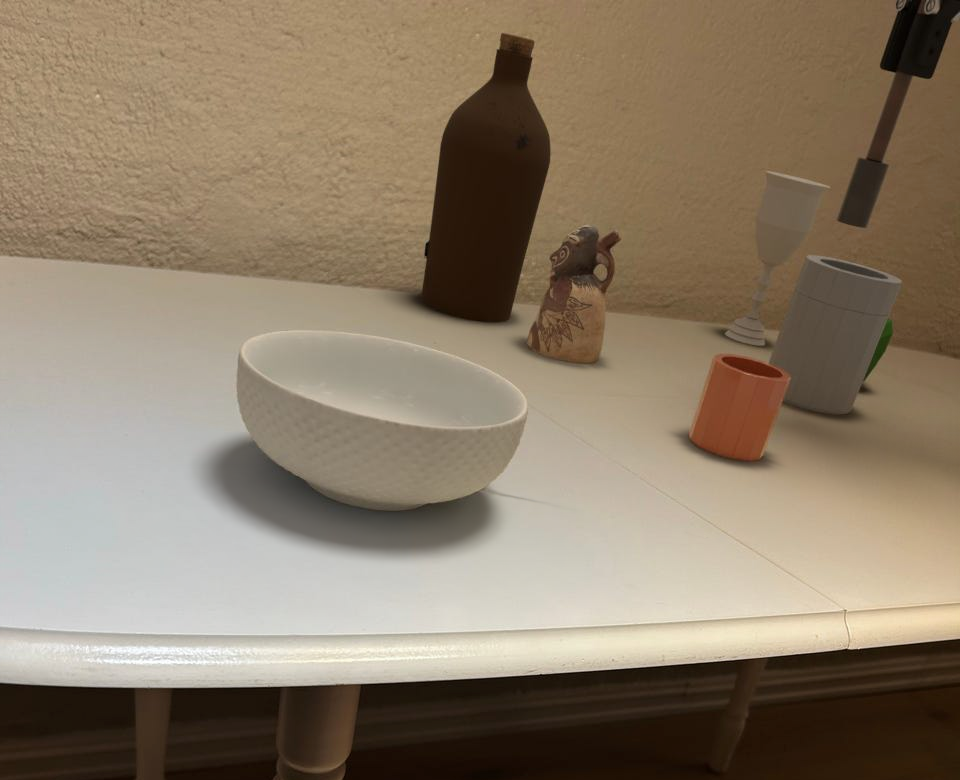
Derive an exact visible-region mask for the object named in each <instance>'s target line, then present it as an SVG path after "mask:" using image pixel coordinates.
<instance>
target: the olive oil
mask: <svg viewBox="0 0 960 780" xmlns="http://www.w3.org/2000/svg"><path fill="white" fill-rule="evenodd" d="M499 42H500V43H499V49H496V53H495V59H494V63H493V64H494V65H493V72H492V76H491V77H490V78H489V80H488V81H487V82H486V83H485V84H484V85H482V86H481V87H480V88H479V89H478V90H476V91H475V92H474V93H472V94H471V95H470V96H469V97H468V98H467V99H465V101H463V102H462V103H461V104H460V105H459V106H457V107H456V109H454V111H453V112H452V113H451V115H450V117H449V119H448V120H447V123H446V125H445V127H444V131H443V133H442V136H441V141H440V146H439V155H438V164H437V173H436V181H435V187H434V188H435V189H434V195H433V196H434V198H433V204H432V205H433V206H432V211H431V212H432V213H431V219H430V220H431V222H430V227H429V228H430V229H429V238H428V239H429V240H428V241H426V242H425V246H424V257H423V258H424V259H426V260H425V267H424V273H423V274H424V275H423V281H422V288H421V296H420V300H421V302H422V303H423V305H425V306H426V307H428V308H430V309H432V310H434V311H437V312H439V313H443V314H444V315H449V316H452V317H454V318H455V317H456V318H460V319H463V320H468V321H475V322H482V323H483V322H484V323H504V322H508V321H509V320H510V318H511V314H512V312H513V308H514V303H515V299H516V294H517V291H518V286H519V284H520V283H519V282H520V278H521V274H522V271H523V267H524V262H525V259H526V255H527V251H528V247H529V244H530V239H531V235H532V232H533V228H534V224H535V220H536V217H537V213H538V209H539V205H540V202H541V199H542V194H543V190H544V187H545V183H546V181H547V177H548V174H549V173H548V172H549V169H550V164H551V154H552V153H551V150H552V149H551V138H550V133H549V130H548V128H547V125H546V122H545V121H544V119H543V116H542V115H541V113H540V111H539V109H538V106H537V105H536V103H535V101H534V99H533V96H532V94H531V92H530V90H529V86H528V80H529V77H530V72H531V68H532V63H533V60H534V58H533V57H532V52H533V49H534V48H535V43H536V42H535V40H534V39H532V38H527V37H523V36H518V35H515V34H511V33H506V32H502V33H500V37H499Z"/></svg>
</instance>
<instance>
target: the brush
mask: <svg viewBox="0 0 960 780" xmlns="http://www.w3.org/2000/svg"><path fill="white" fill-rule="evenodd" d="M926 1H927V0H921V1H920V4H919V6H918V9H917V12H916V14H917V13H922V14H925V12H924V7H925V3H926ZM915 17H916V15H915ZM910 30H911V29H910ZM902 53H903V52H902ZM913 78H914V76H912V75H908V74H904V73H900V72H899V71H898V67H897V70H896V72H895V73H894V76H893V78H892V81H891V84H890V87H889V90H888V93H887V95H886V98H885V101H884V104H883V106H882V110H881V113H880V116H879V118H878V122H877V124H876V126H875V129H874V133H873V136H872V139H871V142H870V144H869V147H868V150H867V153H866V157H861V156H859V157H857V160H856V162H855V165H854V168H853V171H852V174H851V177H850V180H849V183H848V185H847V188H846V190H845V194H844V197H843V200H842V203H841V204H840V205H841V206H840V209H839V211H838V213H837V214H838V215H837V216H836V217H837V218H836V221H837V222H839V223H840V224H841V223H842V224H844V225H848V226H853V227H857V228H862V229H866V228H868V225H869V224H870V220H871V218H872V215H873V212H874V209H875V206H876V203H877V200H878V198H879V196H880V192H881V189H882V187H883V184H884V181H885V179H886V176H887V173H888V170H889V168H890V163H887V162H884V159H885V156H886V153H887V152H888V148H889V146H890V143H891V140H892V137H893V134H894V131H895V129H896V126H897V123H898V120H899V117H900V115H901V111H902V109H903V106H904V103H905V101H906V98H907V95H908V92H909V89H910V87H911V84H912V81H913Z"/></svg>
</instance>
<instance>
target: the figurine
mask: <svg viewBox="0 0 960 780" xmlns="http://www.w3.org/2000/svg"><path fill="white" fill-rule="evenodd" d="M621 240H622V238H621V236H620V233H619V231H618V230H613V231H611V232H610V233H608V234H606V235H605V236H603V237H602V238H600V232H599V230H598V228H597V226H595V225H593V224H584V225H581V226H579V227H577V228H576V229H574V230H573V231H571V232H570V233H568V234H567V235H566V236H565V237H564V239H563V240H562V242H561V244H560V247H559V248H558V249H556V251H554V252H553V253H552V254H551V255H550V256H549V260H550V262H551V269H550V272H549V276H548V279H549V283H550V285H549V287H548V289H547V290H546V292H545V294H544V296H543V299H542V301H541V304H540V307H539V310H538V312H537V314H536V317H535V319H534V321H533V323H532V325H531V326H530V329H529V332H528V336H527V340H526V345H527V346H528V347H529V348H530V350H531V351H533V352H535V353H536V354H540V355H542V356H545V357H548V358H551V359H555V360H558V361H563V362H568V363H575V364H592V363H596V362H597V361H598V360H599V358H600V355H601V352H602V349H603V343H604V338H605V337H604V336H605V329H606V314H607V313H606V311H607V299H606V292H607V291H608V288H609V286H610V284H611V283H612V282H613V278H614V275H615V269H616V268H615V267H616V264H615V258H614V256H613V254H612V252H611V249H612V248H614V246H616V245H617V244H618V243H619V242H621ZM599 265H602V266H604V267H605V268H606V277H605V279H603V280H602V279H600V278H599V277H598V276H597V274H595V273H594V272H595V269H596V268H597V266H599Z"/></svg>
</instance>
